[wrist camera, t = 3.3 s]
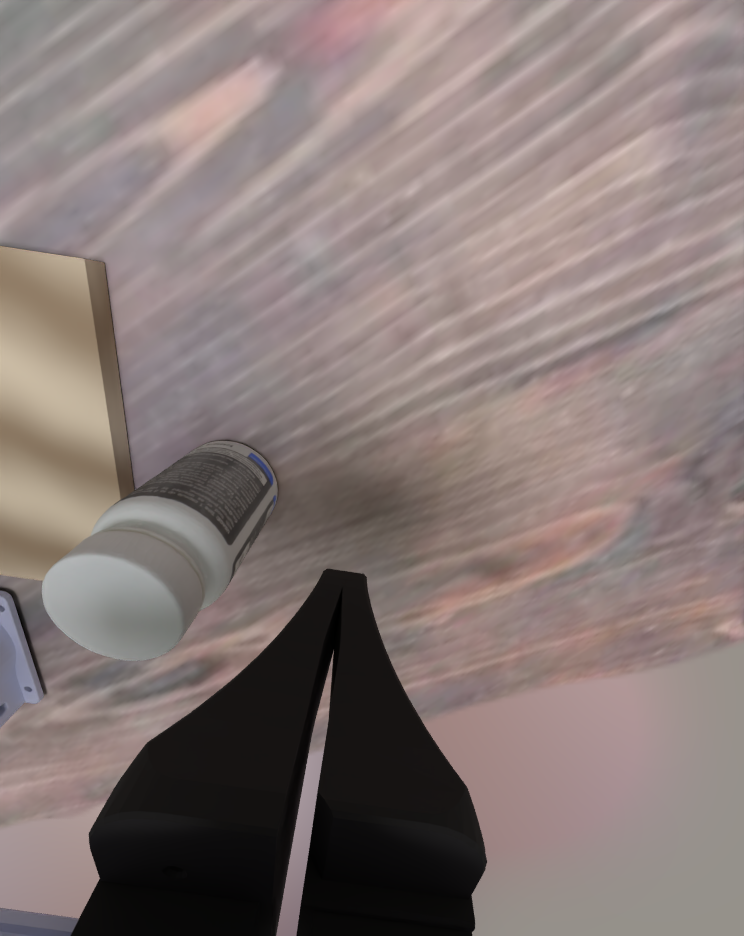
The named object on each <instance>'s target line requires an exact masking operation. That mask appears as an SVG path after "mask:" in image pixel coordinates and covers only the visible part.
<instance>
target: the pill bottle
mask: <svg viewBox="0 0 744 936" xmlns="http://www.w3.org/2000/svg"><path fill="white" fill-rule="evenodd" d="M277 495H278V488H277V482H276V478H275V475H274V473H273V471H272V469H271V467H270V465H269V464H268V462H267V461H266V460H265V459H264V458H263V457H262V456H261V455H260V454H258V453H257V452H256V451H254V450H253V449H251V448H249V447H247V446H245V445H243V444H240V443H237V442H231V441H215V442H210V443H206V444H204V445H202V446H200V447H198V448H196V449H195V450H193V451H192V452H190V453H189V454H187V455H186V456H184V457H183V458H181V459H180V460H179V461H177V462H176V463H174V464H173V465H171V466H170V467H169V468H167V469H166V470H164V471H163V472H161V473H160V474H158V475H157V476H156V477H154V478H152V479H151V480H150V481H148V482H147V483H145V484H144V485H142V486H141V487H139V488H138V489H137V490H135V491H133V492H132V493H130V494H129V495H127V496H126V497H125V498H123V499H121V500H119V501H118V502H116V503H115V504H114V505H112V506H111V507H110V508H109V509H108V510H107V511H106V512H105V513H104V514H103V515H102V516H101V517H100V518H99V519H98V521H97V522H96V524H95V526H94V528H93V530H92V533H91V536H89V537H88V538H86V539H84V540H83V541H82V542H81V543H79V544H78V545H77V546H76V547H75V548H74V549H73V550H71V551H70V552H69V553H68V554H66V555H65V556H64V557H63V558H61V559H60V560H59V561H58V562H56V563H55V564H54V565H53V566H52V567H51V568H50V569H49V571H48V572H47V574H46V575H45V578H44V581H43V583H42V598H43V603H44V606H45V609H46V611H47V613H48V615H49V616H50V618H51V619H52V621H53V622H54V623H55V625H56V626H57V627H58V628H59V629H60V630H61V631H62V632H64V633H65V634H66V635H67V636H68V637H69V638H70V639H72V640H73V641H75V642H76V643H77V644H79V645H81V646H82V647H84V648H86V649H88V650H90V651H92V652H95V653H97V654H100V655H104V656H107V657H110V658H114V659H119V660H126V661H142V660H148V659H152V658H156V657H159V656H161V655H163V654H165V653H167V652H168V651H170V650H171V649H173V648H174V647H175V646H176V645H177V644H178V642H179V641H180V640H181V638H182V637H183V635H184V634H185V632H186V631H187V629H188V628H189V626H190V625H191V623H192V622H193V620H194V619H195V617H196V616H197V614H198V612H199V611H200V610H203V609H205V608H206V607H208V606H210V605H211V604H212V603H213V602H215V601H216V600H217V599H218V598H219V597H220V596H221V594H222V593H223V592H224V591H225V589H226V588H227V586H228V585H229V583H230V581H231V579H232V578H233V576H234V575H235V573H236V571H237V569H238V568H239V566H240V564H241V562H242V561H243V559H244V557H245V556H246V554H247V552H248V551H249V549H250V547H251V546H252V544H253V543H254V541H255V539H256V538H257V536H258V534H259V533H260V531H261V529H262V528H263V526H264V524H265V523H266V521H267V519H268V518H269V516H270V515H271V513H272V511H273V509H274V507H275V504H276V501H277Z"/></svg>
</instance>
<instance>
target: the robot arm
mask: <svg viewBox="0 0 744 936" xmlns="http://www.w3.org/2000/svg"><path fill="white" fill-rule="evenodd" d="M333 650H334V655H333V669H332V682H331V695H330V709H329V722H328V729H327V735H326V741H325V748H324V755H323V761H322V767H321V773H320V780H319V787H318V793H317V800H316V806H315V814H314V820H313V827H312V834H311V842H310V848H309V855H308V861H307V868H306V874H305V881H304V887H303V894H302V900H301V907H300V915H299V922H298V929H297V936H472V931H474V929H475V918H474V911H473V903H472V896H471V895H472V893H473V891H474V889H475V888H476V885H477V884H478V882H479V880H480V879H481V877H482V875H483V873H484V871H485V867H486V863H487V860H486V854H485V847H484V842H483V838H482V834H481V830H480V826H479V822H478V819H477V816H476V812H475V809H474V806H473V803H472V800H471V797H470V794H469V791H468V788H467V786H466V785H465V784H464V782H463V781H462V780H461V778H460V777H459V776H458V774H457V773H456V772H455V770H454V769H453V767H452V766H451V765H450V763H449V762H448V760H447V759H446V758H445V756H444V755H443V753H442V752H441V750H440V749H439V747H438V746H437V744H436V743H435V741H434V740H433V738H432V737H431V735H430V734H429V732H428V731H427V729H426V727H425V726H424V724H423V722H422V720H421V719H420V717H419V715H418V714H417V712H416V710H415V708H414V707H413V705H412V703H411V702H410V700H409V698H408V696H407V694H406V693H405V691H404V689H403V687H402V685H401V683H400V681H399V679H398V677H397V675H396V672H395V670H394V668H393V666H392V664H391V661H390V659H389V657H388V654H387V652H386V649H385V647H384V644H383V641H382V639H381V636H380V633H379V630H378V627H377V624H376V621H375V618H374V614H373V611H372V607H371V603H370V599H369V594H368V588H367V577H366V576H365V575H364V574H361V573H354V572H347V571H340V570H333V569H326V570H324V571H323V573H322V576H321V577H320V579H319V581H318V583H317V585H316V586H315V588H314V589H313V591H312V592H311V594H310V595H309V597H308V598H307V600H306V601H305V602H304V604H303V605H302V606H301V608H300V609H299V610H298V612H297V613H296V614H295V616H294V617H293V618H292V619H291V620H290V622H289V623H288V624H287V625H286V626H285V628H284V629H283V630H282V631H281V632H280V633H279V635H278V636H277V637H276V638H275V639H274V640H273V641H272V642H271V643H270V644H269V645H268V646H267V647H266V648H265V649H264V650H263V651H262V652H261V653H260V655H259V656H258V657H256V658H255V659H254V660H253V661H252V662H251V663H250V664H249V665H248V666H247V667H246V668H245V669H244V670H242V671H241V672H240V673H239V674H238V675H237V676H236V677H235V678H234V679H232V680H231V681H230V682H229V683H228V684H227V685H225V686H224V687H223V688H222V689H220V690H219V691H218V692H216V693H215V694H214V695H213V696H211V697H210V698H209V699H208V700H206V701H205V702H204V703H203V704H201V705H200V706H199V707H198V708H196V709H195V710H193V711H192V712H191V713H189V714H188V715H187V716H185V717H184V718H182V719H181V720H179V721H178V722H176V723H175V724H174V725H172V726H171V727H169V728H168V729H166V730H165V731H163V732H162V733H160V734H159V735H158V736H156V737H155V738H153V739H152V740H150V741H149V742H147V744H146V745H145V746H144V747H143V749H142V750H141V751H140V753H139V754H138V755H137V757H136V758H135V759H134V760H133V762H132V763H131V765H130V766H129V768H128V769H127V770H126V772H125V773H124V775H123V776H122V777H121V779H120V780H119V782H118V783H117V785H116V786H115V788H114V790H113V791H112V793H111V795H110V797H109V798H108V800H107V802H106V804H105V805H104V807H103V809H102V811H101V812H100V814H99V816H98V818H97V820H96V822H95V823H94V825H93V827H92V828H91V831H90V832H89V843H90V849H91V852H92V856H93V859H94V861H95V865H96V867H97V871H98V874H99V877H100V879H99V881H98V883H97V885H96V887H95V889H94V891H93V893H92V895H91V897H90V899H89V901H88V903H87V904H86V906H85V909H84V910H83V912H82V914H81V916H80V918H79V919H78V918H71V917H63V916H56V915H49V914H42V913H34V912H27V911H19V910H12V909H5V908H0V936H276V933H277V927H278V922H279V916H280V910H281V904H282V899H283V893H284V888H285V882H286V876H287V870H288V864H289V859H290V854H291V848H292V842H293V836H294V831H295V825H296V819H297V814H298V809H299V803H300V797H301V792H302V786H303V781H304V775H305V769H306V764H307V759H308V753H309V748H310V742H311V737H312V732H313V728H314V723H315V719H316V715H317V711H318V708H319V704H320V700H321V696H322V692H323V689H324V685H325V681H326V677H327V673H328V670H329V666H330V662H331V658H332V654H333ZM43 697H44V694H43V691H42V688H41V685H40V681H39V678H38V675H37V672H36V669H35V666H34V663H33V660H32V657H31V654H30V650H29V647H28V644H27V641H26V638H25V635H24V632H23V629H22V626H21V623H20V620H19V616H18V613H17V610H16V607H15V604H14V601H13V598H12V596H11V595H10V594H9V593H7V592H5V591H0V728H1V727H2V726H3V725H4V723H5V722H6V721H7V720H8V719H9V718H10V717H11V716H12V715H13V714H14V713H15V712H16V711H17V710H18V709H19V708H20V707H21V706H22V705H23V704H24V702H25V703H32V704H36V703H39V702H40V701H41V700H42V699H43Z"/></svg>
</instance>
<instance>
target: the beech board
mask: <svg viewBox="0 0 744 936" xmlns="http://www.w3.org/2000/svg"><path fill="white" fill-rule="evenodd" d="M133 491H134V484H133V476H132V469H131V461H130V453H129V446H128V438H127V431H126V423H125V416H124V408H123V400H122V393H121V385H120V378H119V370H118V363H117V355H116V348H115V340H114V332H113V325H112V317H111V310H110V302H109V295H108V287H107V279H106V272H105V264H104V263H103V262H98V261H92V260H87V259H81V258H75V257H68V256H62V255H55V254H49V253H42V252H36V251H29V250H23V249H16V248H10V247H3V246H0V575H5V576H12V577H19V578H25V579H32V580H39V581H44V578H45V575H46V574H47V572H48V571H49V569H50V568H51V567H52V566H53V565H54V564H55V563H56V562H58V561H59V560H60V559H61V558H63V557H64V556H65V555H66V554H68V553H69V552H70V551H71V550H73V549H74V548H75V547H76V546H77V545H78V544H79V543H81V542H82V541H83V540H84V539H86V538H88V537H89V536H91V533H92V530H93V528H94V526H95V524H96V522H97V521H98V519H99V518H100V517H101V516H102V515H103V514H104V513H105V512H106V511H107V510H108V509H109V508H110V507H111V506H112V505H114V504H115V503H116V502H118V501H119V500H121V499H123V498H125V497H126V496H127V495H129V494H130V493H132V492H133Z"/></svg>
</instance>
